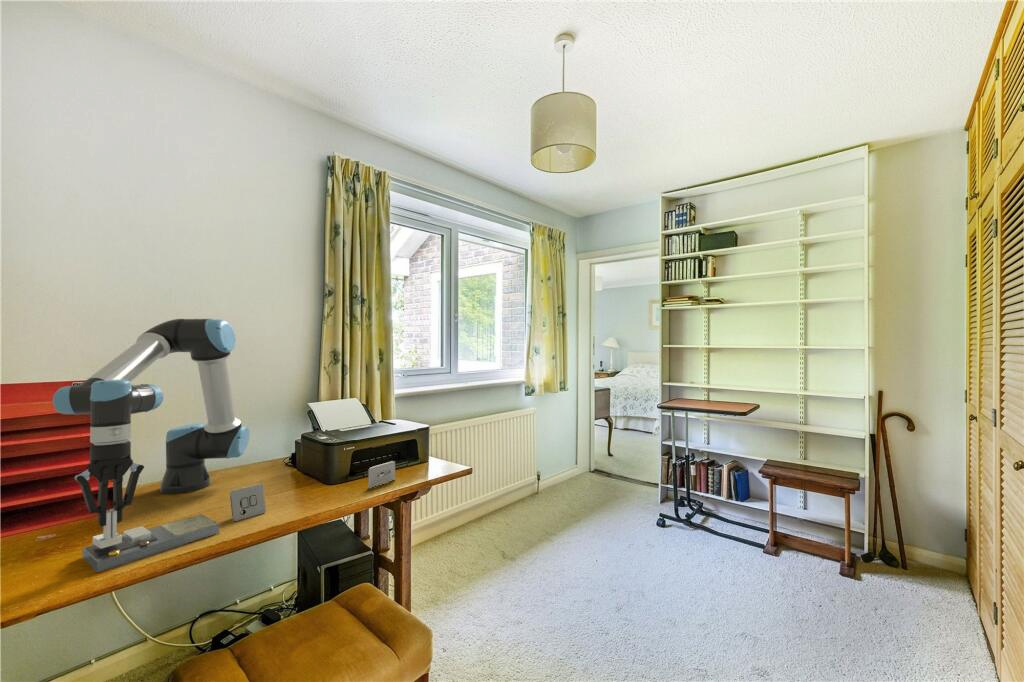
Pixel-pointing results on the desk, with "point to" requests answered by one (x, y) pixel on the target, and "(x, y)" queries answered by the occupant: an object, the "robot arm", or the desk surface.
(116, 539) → the block
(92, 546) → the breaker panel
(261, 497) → the electrical switch
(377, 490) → the desk surface
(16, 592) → the desk surface
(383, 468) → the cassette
